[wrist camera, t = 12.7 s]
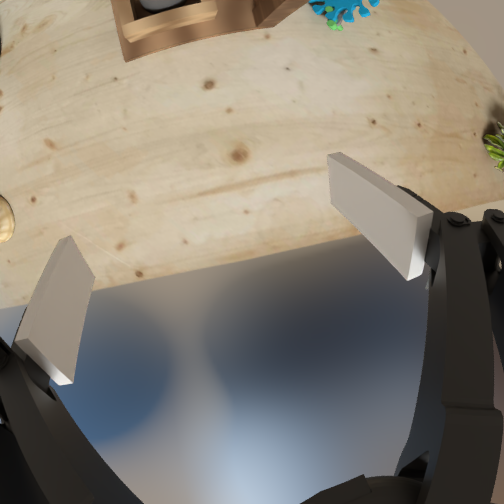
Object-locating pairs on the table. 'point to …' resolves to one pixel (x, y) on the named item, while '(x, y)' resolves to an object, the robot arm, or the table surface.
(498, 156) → the passion flower
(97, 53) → the table surface
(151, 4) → the bottle
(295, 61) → the table surface
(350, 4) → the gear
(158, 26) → the wooden holder stand
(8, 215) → the hand bell
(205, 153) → the table surface
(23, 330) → the robot arm
